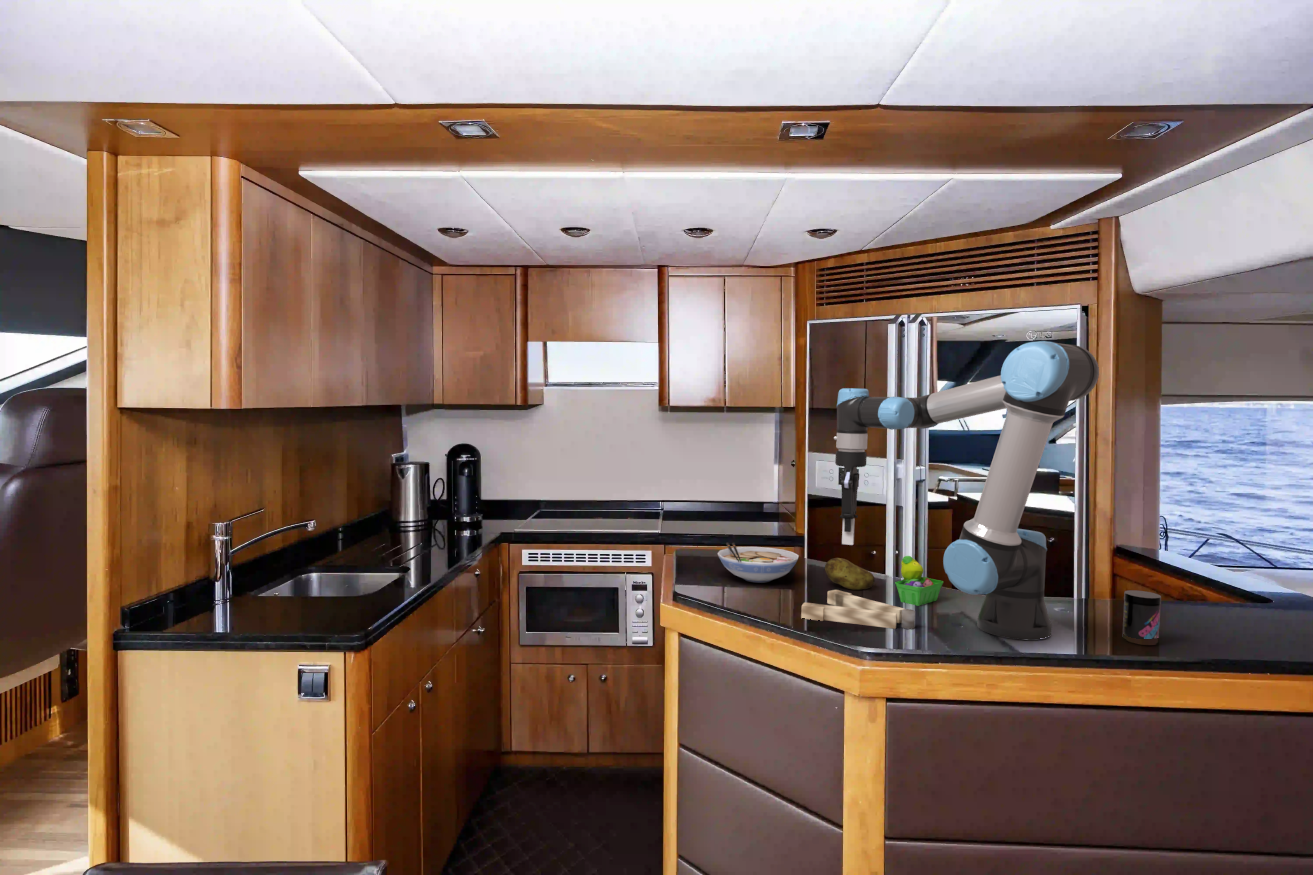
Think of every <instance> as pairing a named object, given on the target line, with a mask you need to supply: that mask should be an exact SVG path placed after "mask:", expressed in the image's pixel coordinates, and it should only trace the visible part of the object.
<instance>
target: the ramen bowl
mask: <svg viewBox="0 0 1313 875" xmlns="http://www.w3.org/2000/svg"><path fill="white" fill-rule="evenodd" d="M725 545H726V547H727V548H724V549H720V550H719V551H718V552H717V556H718V558H719V560H720V562H721V563H722V565H723V567H724V568H726V570H728V571H729V572H730V573H731V574H733V575H734V576H737V577H738V578H741V579H743V580H745V581H746V582H750V583H754V584H755V583H757V584H758V583H759V584H760V583H761V584H763V583H770V582H771V581H773V580H777V579H779V578H782V577H784V576H786V575H787V574H788V573H790V572H791V571H792V570H793V567H794V566H795V565H796V564H797V562H798V560H799V556H800V555H799V554H797V553H795V552H793V551H790V550H787V549H783V548H777V547H776V548H774V547H768V546H767V547H763V546H762V547H761V546H736V543H735V542H732V543H731V545H732V547H731V545H730V543H729V542H726V544H725Z"/></svg>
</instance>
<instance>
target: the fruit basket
mask: <svg viewBox="0 0 1313 875" xmlns="http://www.w3.org/2000/svg"><path fill="white" fill-rule="evenodd" d="M900 563H901V568H900V574H901V577H902V578H903V579H902V580H899V581H895V586H896V588H897V592H898V596H899V600H900V603H905V604H908V605H912V606H917V607H920V606H923V605H927V604H930V603H932V602H936V601H938V599H939V598H938V597H939V594H940V592H941V588H942V586H943V584H944V581H943V580H939V579H934V578H929V577H927V576H923V573H924V568H923V566H922V564H920V563H919V562H918V561H917V560H916V559H915V558H913V557H912V555H911V556H910V555H906V556H905V555H904V556H903V557H902V560H901V562H900Z"/></svg>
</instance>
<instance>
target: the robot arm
mask: <svg viewBox="0 0 1313 875" xmlns="http://www.w3.org/2000/svg"><path fill="white" fill-rule="evenodd" d="M1001 366H1002V367H1001V369H1000V370H1001V371H1000V375H997V376H992V377H988V378H986V379H981V380H978V381H974V382H970V383H967V384H963V385H960V386H955V387H952V388H948V389H945V390H941V391H936V392H933V393H930V394H926V395H923V396H918V397H900V396H870V391H869V389H868V388H849V387H847V388H846V387H845V388H844V387H843V388H841V389H839V391H838V392H837V403H836V436H834V437H833V440H834V441H836V443H835V445H836V446H835V447H836V449H838V450H836V451H835V460H834V461H835V465H836V466H837V467H843V473H841V476H840V480H841V481H840V485H841V515H840V516H839V519H842V528H841V529H842V531H841V532H842V533H841V534H842V535H841V545H847V546H848V545H849V546H853V545H854V544H855V522H856V520H855V519H858V518H859V515H858V514H857V501H858V490H859V480H860V473H858V468H863V467H866V466H867V456H868V454H867V452H866V451H865V450H867V449H868V438H869V436H868V430H869V428H873V429H874V428H875V429H887V430H904V429H922V430H923V429H929V428H934V427H936V426H938V425H939V424H942V423H948V422H951V421H957V420H961V419H965V418H969V417H973V416H978V415H983V414H988V413H992V412H996V411H1001V410H1005V409H1006V410H1007V414H1006V417H1005V419H1004V422H1003V425H1002V428H1001V432H1000V435H999V439H998V441H997V445H996V448H995V451H994V454H993V458H992V461H991V463H990V466H989V469H988V471H987V472H988V473H987V476H986V478H985V479H986V480H985V483H984V486H983V489H982V492H981V495H980V497H979V501H978V504H977V508H976V511H975V514H974V517H973V518H971V519H970V520H966V521H965V522H964V523H963V525H962V529H961V533H960V535H959V539H956V540H955V541H953V542H951V543H950V544H949V545H948V546H947V548H946V549H945V551H944V554H943V558H942V560H943V561H942V562H943V569H944V572H945V574H946V575H947V577H948V580H949V582H950V583H951V584H952V585H953V586H954V587H955V588H957V589H958V590H959V591H961V592H963V593H966V594H968V595H971V596H972V595H985V598H984V599H983V601H982V602H983V603H982V605H981V607H980V609H979V613H978V614H977V623H976V626H977V628H978V629H979V630H980V631H983V632H985V633H987V634H990V635H993V636H996V637H1001V638H1005V639H1006V638H1007V639H1012V638H1014V639H1013V640H1020V639H1040V638H1045V637H1048V636H1050V635H1051V636H1052V630H1053V629H1052V628H1053V627H1052V626H1053V625H1052V621H1051V619H1050V616H1049V613H1048V609H1047V608H1048V607H1047V605H1046V603H1045V582H1046V566H1047V565H1046V563H1047V561H1046V559H1047V551H1048V548H1047V547H1048V546H1047V537H1046V536H1045V534H1044V533H1043V532H1040V531H1037V530H1036V531H1035V530H1029V529H1022V528H1019V525H1020V522H1021V518H1022V516H1023V513H1024V510H1025V507H1026V504H1027V501H1028V498H1029V495H1030V493H1031V488H1032V486H1033V484H1034V480H1035V478H1036V474H1037V472H1038V470H1039V469H1038V468H1039V465H1040V462H1041V459H1042V458H1043V457H1042V456H1043V453H1044V451H1045V447H1046V445H1047V442H1048V438H1049V436H1050V432H1051V430H1052V427H1053V423H1054V422H1057V421H1058V420H1060V419H1063V418H1064V417H1065V415H1066V411H1067V408H1068V405H1069V404H1070V402H1071V401H1076V400H1079V399H1082V398H1084V397H1086V396H1087V395H1088V394H1090V393H1091V392H1092V391H1093V389H1094V388H1095V386H1096V384H1097V383H1098V381H1099V378H1100V377H1099V376H1100V369H1099V368H1100V367H1099V363H1098V361H1097V359H1096V357H1095V356H1094V355H1093V354H1092V353H1091V352H1090V351H1089V350H1088V349H1086V348H1084V347H1082V346H1079V345H1076V344H1068V343H1066V344H1065V343H1060V342H1059V343H1058V342H1053V341H1046V340H1041V341H1031V342H1025V343H1023V344H1021V345H1020V346H1018V347H1016V348H1014V349H1013V350H1012V351H1011V352H1010V353H1008V355H1007V357H1006V358H1005V359H1004V361H1003V364H1002V365H1001ZM1051 636H1050V637H1051Z"/></svg>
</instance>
